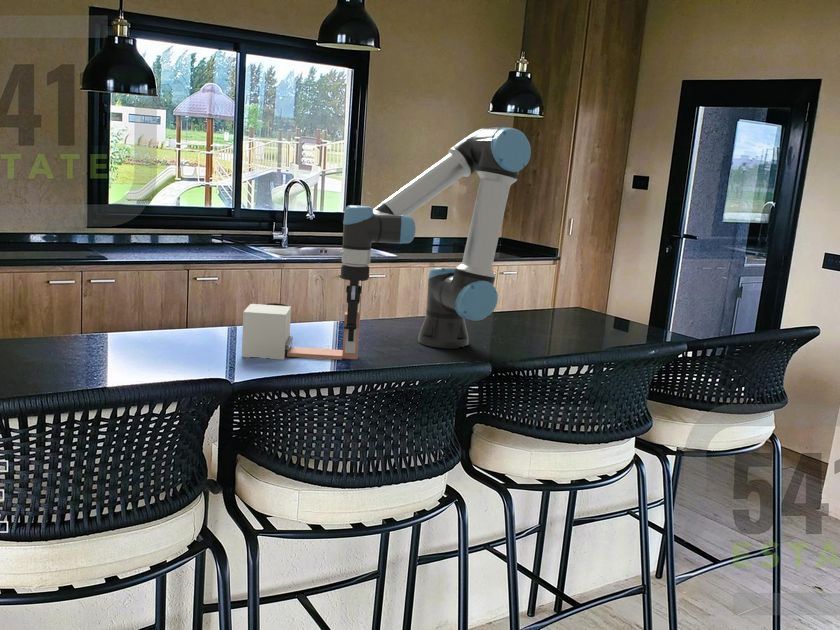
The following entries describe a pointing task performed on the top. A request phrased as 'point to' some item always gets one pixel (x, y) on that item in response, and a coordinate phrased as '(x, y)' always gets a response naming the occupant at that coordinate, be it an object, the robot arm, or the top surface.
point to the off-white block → (266, 331)
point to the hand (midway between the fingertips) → (350, 350)
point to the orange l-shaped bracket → (328, 352)
